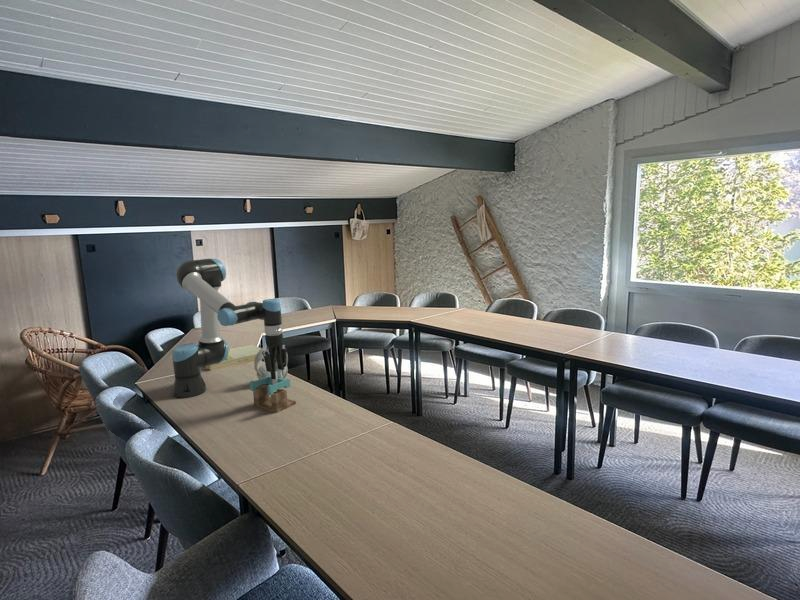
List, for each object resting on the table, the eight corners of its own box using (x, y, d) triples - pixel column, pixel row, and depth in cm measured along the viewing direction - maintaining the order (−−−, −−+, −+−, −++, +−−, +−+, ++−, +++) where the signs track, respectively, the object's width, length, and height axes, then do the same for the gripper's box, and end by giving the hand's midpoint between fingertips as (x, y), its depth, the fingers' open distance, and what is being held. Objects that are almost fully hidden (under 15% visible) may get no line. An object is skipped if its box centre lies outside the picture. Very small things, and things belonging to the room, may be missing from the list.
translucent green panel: (269, 358, 284) (253, 350, 302) (269, 351, 283) (252, 343, 301) (209, 372, 261) (195, 363, 279) (208, 364, 260) (195, 355, 278)
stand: (277, 412, 201) (276, 394, 200) (254, 406, 209) (252, 389, 208) (295, 403, 210) (294, 386, 209) (272, 397, 218) (271, 381, 217)
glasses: (270, 395, 198) (270, 386, 197) (250, 390, 205) (249, 381, 204) (290, 386, 208) (289, 378, 207) (270, 382, 214) (269, 374, 214)
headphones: (262, 389, 230) (259, 350, 226) (251, 384, 237) (248, 346, 233) (294, 379, 243) (291, 342, 240) (283, 375, 250) (280, 339, 247)
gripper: (266, 338, 198) (270, 391, 202) (292, 330, 211) (296, 380, 215) (254, 336, 202) (258, 388, 206) (280, 329, 215) (284, 378, 219)
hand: (277, 384), depth 210 cm, fingers closed on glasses, 2 cm apart
